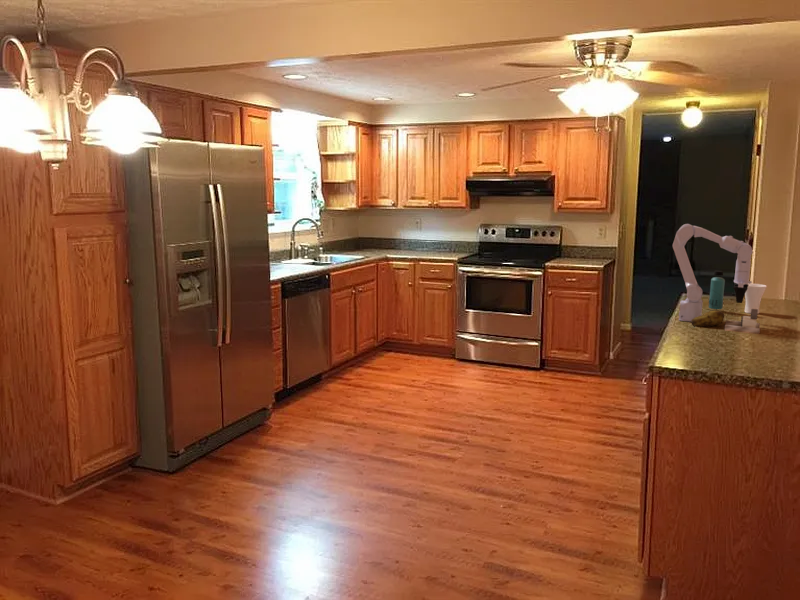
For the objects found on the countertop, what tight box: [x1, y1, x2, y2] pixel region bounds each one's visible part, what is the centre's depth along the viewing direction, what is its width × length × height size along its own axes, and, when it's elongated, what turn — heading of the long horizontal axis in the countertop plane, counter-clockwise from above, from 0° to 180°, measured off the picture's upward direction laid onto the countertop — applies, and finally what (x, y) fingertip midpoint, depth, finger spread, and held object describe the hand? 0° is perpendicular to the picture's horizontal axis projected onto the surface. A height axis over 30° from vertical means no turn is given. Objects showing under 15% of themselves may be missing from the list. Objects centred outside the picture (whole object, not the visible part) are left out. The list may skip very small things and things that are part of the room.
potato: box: [690, 309, 725, 328], centre depth 290 cm, size 8×13×8 cm, turn 67°
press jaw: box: [740, 309, 759, 328], centre depth 283 cm, size 6×9×8 cm, turn 152°
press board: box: [724, 319, 761, 335], centre depth 285 cm, size 13×14×3 cm
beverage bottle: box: [708, 270, 726, 310], centre depth 327 cm, size 6×7×20 cm
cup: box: [744, 283, 768, 314], centre depth 325 cm, size 10×10×14 cm
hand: (739, 301), depth 297 cm, fingers open, 7 cm apart
